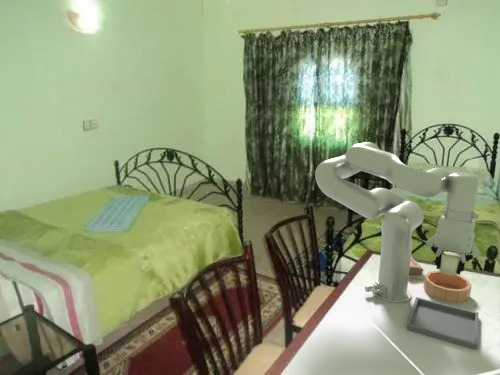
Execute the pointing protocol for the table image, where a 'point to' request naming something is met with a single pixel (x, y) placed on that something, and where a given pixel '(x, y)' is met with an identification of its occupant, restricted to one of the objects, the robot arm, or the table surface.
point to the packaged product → (415, 270)
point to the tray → (444, 322)
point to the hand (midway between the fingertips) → (448, 269)
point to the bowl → (447, 287)
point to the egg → (449, 263)
